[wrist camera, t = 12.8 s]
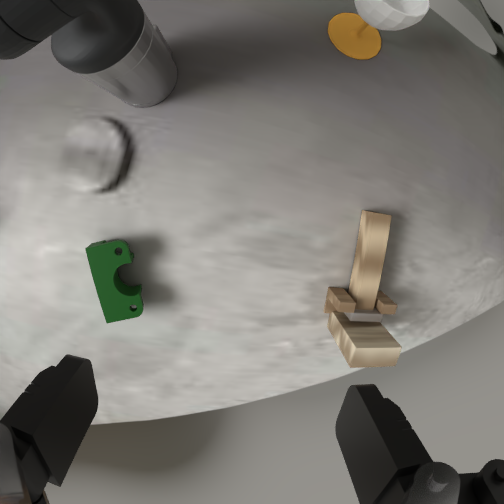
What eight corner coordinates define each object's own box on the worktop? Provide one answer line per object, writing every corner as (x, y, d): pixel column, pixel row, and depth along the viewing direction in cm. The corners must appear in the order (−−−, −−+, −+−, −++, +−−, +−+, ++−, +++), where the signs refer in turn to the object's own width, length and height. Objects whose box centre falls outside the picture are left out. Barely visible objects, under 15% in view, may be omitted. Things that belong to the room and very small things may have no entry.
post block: (328, 287, 46) (355, 321, 35) (381, 290, 47) (416, 322, 35) (320, 325, 48) (342, 367, 36) (371, 327, 49) (402, 365, 37)
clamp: (144, 284, 50) (148, 323, 43) (111, 291, 48) (110, 331, 41) (126, 222, 43) (125, 258, 36) (89, 231, 41) (81, 268, 34)
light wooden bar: (356, 209, 44) (371, 212, 38) (385, 214, 44) (402, 217, 39) (339, 306, 47) (350, 321, 41) (367, 308, 47) (381, 321, 42)
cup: (317, 18, 36) (348, -38, 21) (364, 9, 36) (406, -39, 20) (344, 65, 38) (389, 22, 23) (390, 54, 38) (444, 17, 22)
